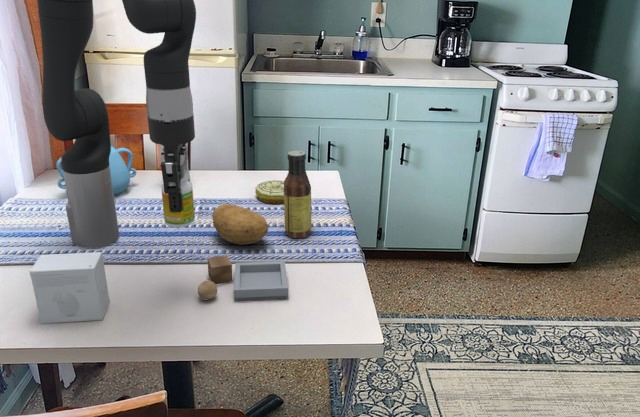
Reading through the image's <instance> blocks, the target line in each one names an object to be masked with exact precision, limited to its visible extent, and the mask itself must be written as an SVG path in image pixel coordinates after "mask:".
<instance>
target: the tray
mask: <svg viewBox="0 0 640 417" xmlns="http://www.w3.org/2000/svg"><path fill="white" fill-rule="evenodd" d="M233 285H234V286H233V297H234V302H252V301H253V302H254V301H255V302H258V301H278V300H280V301H281V300H289V283H288V276H287V268H286V261H285V260H283V261H280V260H279V261H257V262H256V261H255V262H253V261H252V262H251V261H250V262H235V264H234V283H233Z"/></svg>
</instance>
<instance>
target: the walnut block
mask: <svg viewBox="0 0 640 417" xmlns="http://www.w3.org/2000/svg"><path fill="white" fill-rule="evenodd" d="M207 273H208V274H207V275H208V277H209V281H212V282H214V283H215V284H216V285H220V284H227V283H231V282H233V264H232V262H231V260H230V258H229V255H228V254H225V255H219V256H213V257H207Z"/></svg>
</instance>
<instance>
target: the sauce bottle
mask: <svg viewBox="0 0 640 417" xmlns="http://www.w3.org/2000/svg"><path fill="white" fill-rule="evenodd" d="M306 158H307V154H306V152H305V151H303V150H290V151H288V152H287V161H288V169H287V170H288V172H287V174H286V177H285V178H284V180H283V181H284V203H283V208H284V213H283V214H284V216H283V218H284V229H285V230H284V232H285V234H286V236H288V237H289V238H292V239H298V240H299V239H304V238H307V237H309V236H310V235H311V233H312V186H311V183H310V180H309V177H308V174H307V171H306V160H307V159H306Z"/></svg>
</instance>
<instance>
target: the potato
mask: <svg viewBox="0 0 640 417" xmlns="http://www.w3.org/2000/svg"><path fill="white" fill-rule="evenodd" d="M211 217H212V223H213V227H214V228H215V230H216V232H217V234H218V236H220V237H221V238H223V239H224V240H225V241H228V242H230V243H232V244H235V245H250V244H255V243H257V242H259V241H260V240H261V239H263V238H264V237H265V236H266V235H267V234H268V231H269V226H268V224H267V219H266V218H265V217H264V216H263V215H261V214H259V213H257V212H256V211H254V210H251V209H249V208H246V207H243V206H241V205H240V206H239V205H236V204H233V203H232V204H231V203H224V204H220V205H218V206H217V207H216V208H215V209H214V210H213V211H212V215H211Z"/></svg>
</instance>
